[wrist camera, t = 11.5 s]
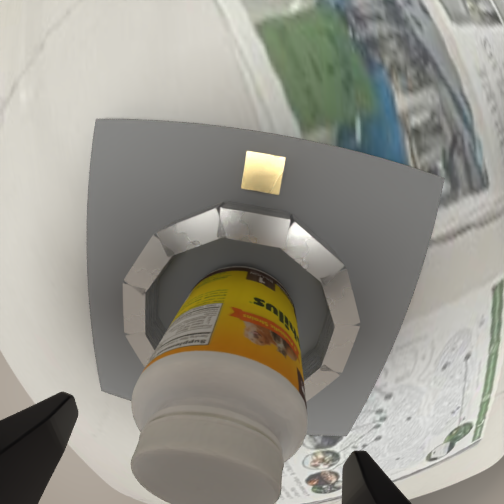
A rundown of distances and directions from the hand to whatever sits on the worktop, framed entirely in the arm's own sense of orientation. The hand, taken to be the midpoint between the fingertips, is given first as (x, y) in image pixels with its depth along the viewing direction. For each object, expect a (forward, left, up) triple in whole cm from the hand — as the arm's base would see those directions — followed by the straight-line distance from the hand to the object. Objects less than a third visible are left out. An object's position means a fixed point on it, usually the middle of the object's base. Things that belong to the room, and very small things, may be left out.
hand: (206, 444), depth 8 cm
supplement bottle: (0, 0, -9) cm, 9 cm away
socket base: (0, 0, -9) cm, 9 cm away
